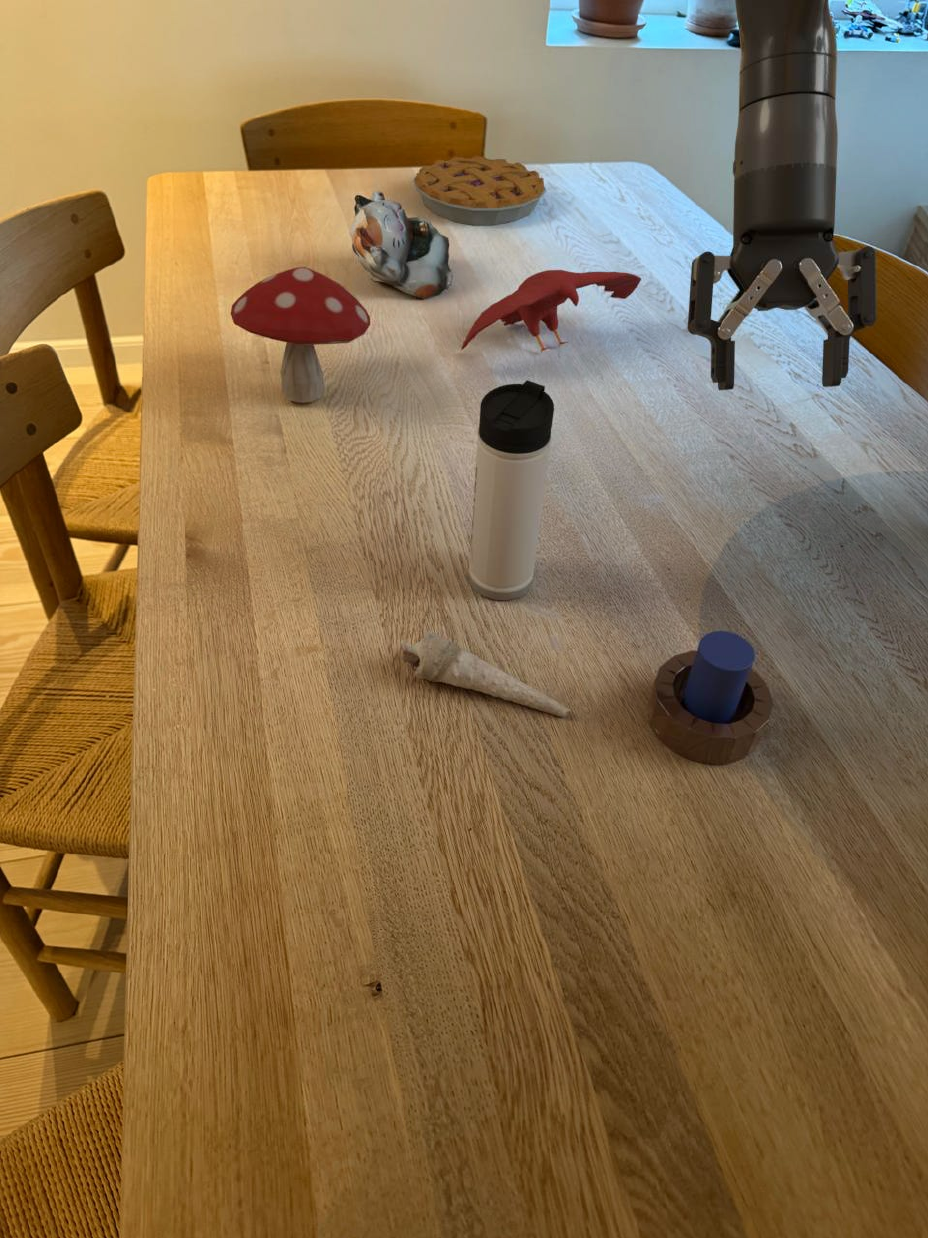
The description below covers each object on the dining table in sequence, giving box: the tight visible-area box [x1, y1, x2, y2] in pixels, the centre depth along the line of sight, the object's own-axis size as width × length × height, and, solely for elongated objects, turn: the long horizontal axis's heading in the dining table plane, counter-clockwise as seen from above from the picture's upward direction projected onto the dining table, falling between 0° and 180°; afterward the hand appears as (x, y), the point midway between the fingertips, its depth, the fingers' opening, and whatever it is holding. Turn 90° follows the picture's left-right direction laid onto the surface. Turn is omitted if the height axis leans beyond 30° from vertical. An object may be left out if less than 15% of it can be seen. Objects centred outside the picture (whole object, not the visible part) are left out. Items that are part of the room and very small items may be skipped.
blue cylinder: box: [680, 630, 756, 724], centre depth 78 cm, size 4×4×8 cm
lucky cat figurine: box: [349, 190, 454, 300], centre depth 135 cm, size 15×12×14 cm
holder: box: [647, 650, 774, 766], centre depth 80 cm, size 10×10×4 cm
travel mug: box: [467, 380, 555, 601], centre depth 86 cm, size 6×7×20 cm
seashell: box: [398, 629, 571, 718], centre depth 81 cm, size 4×16×4 cm, turn 71°
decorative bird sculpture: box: [460, 269, 642, 353], centre depth 125 cm, size 28×9×15 cm
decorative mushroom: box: [230, 266, 371, 404], centre depth 111 cm, size 16×16×15 cm
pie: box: [412, 155, 547, 226], centre depth 160 cm, size 22×22×5 cm
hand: (778, 388), depth 77 cm, fingers open, 8 cm apart
